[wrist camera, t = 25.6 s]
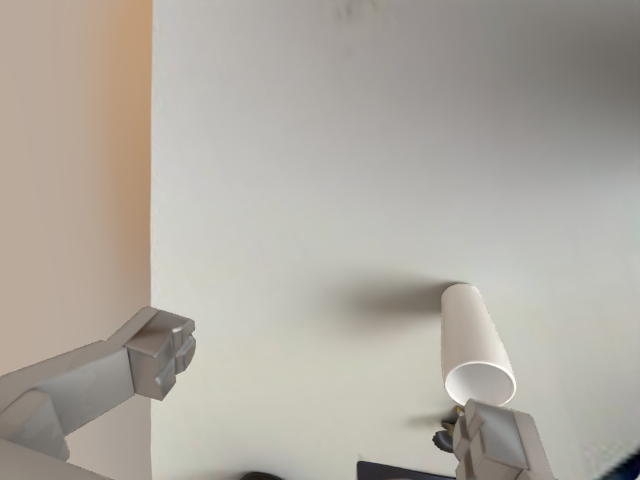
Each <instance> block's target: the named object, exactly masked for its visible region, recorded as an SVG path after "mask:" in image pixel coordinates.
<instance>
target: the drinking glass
mask: <svg viewBox="0 0 640 480" xmlns="http://www.w3.org/2000/svg"><path fill="white" fill-rule="evenodd" d="M441 308H442V315H441V351H440V352H441V368H442V376H443V382H444V388H445V390H446V392H447V394H448V395H449V396H450V397H451V398H452V399H453V400H454V401H455V402H457V403H459V404H461V405H463V406H465V404H466V402H467V400H469V399H470V398H472V399H476V400H480V401H483V402H487V403H491V404H494V405H498V406H502V405H504V404H505V403H507V402H508V401H509V400H511V398H512V397H513V396H514V394H515V391H516V382H515V378H514V374H513V370H512V366H511V363H510V360H509V357H508V354H507V351H506V349H505V347H504V344H503V342H502V340H501V338H500V335H499V333H498V331H497V329H496V327H495V325H494V322H493V320H492V318H491V316H490V314H489V311H488V309H487V307H486V305H485V302H484V299H483V296H482V294H481V292H480V291H479V290H478V289H477V288H475V287H474V286H472V285H469V284H462V283H461V284H455V285H452V286H450V287H448V288H447V289H446V290H445V291H444V292H443V294H442V297H441Z"/></svg>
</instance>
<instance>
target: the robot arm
mask: <svg viewBox="0 0 640 480" xmlns="http://www.w3.org/2000/svg"><path fill="white" fill-rule="evenodd" d="M194 330H195V323H194V320H192V319H189V318H186V317H183V316H179V315H176V314H173V313H170V312H167V311H163V310H159V309H156V308H153V307H150V306H147V307H144V308H142V309H141V310H140V311H139V312H137V313H136V314H135V315H134V316H133V317H132V318H131V319H130V320H129V321H127V322H126V323H125V324H124V325H123V326H122V327H121V328H120V329H118V330H117V331H116V332H115V333H114V334H113V335H112V336H111V337H110V338H108V339H107V340H106V341H102V340H100V341H97V342H94V343H91V344H88V345H86V346H83V347H80V348H77V349H75V350H72V351H69V352H66V353H64V354H61V355H58V356H55V357H53V358H50V359H47V360H44V361H41V362H39V363H36V364H33V365H30V366H28V367H25V368H22V369H19V370H17V371H14V372H11V373H8V374H6V375H3V376H1V377H0V480H114V479H111V478H108V477H105V476H102V475H100V474H96V473H94V472H92V471H89V470H86V469H84V468H81V467H78V466H75V465H73V464H70V463H67V462H66V461H67V460H68V458H69V457H70V451H69V448H68V445H67V442H66V440H65V436H67V435H68V434H70V433H72V432H73V431H75V430H77V429H78V428H80V427H82V426H83V425H85V424H87V423H88V422H90V421H92V420H94V419H95V418H97V417H99V416H100V415H102V414H104V413H105V412H107V411H109V410H110V409H112V408H114V407H116V406H117V405H119V404H121V403H122V402H124V401H126V400H127V399H129V398H131V397H132V396H134V395H135V393H136V394H139V395H143V396H146V397H150V398H153V399H156V400H160V401H162V400H163V399H164V398H165V396H166V395H167V394H168V392H169V391H170V390H171V388H172V387H173V386H174V384H175V383H176V375H177V374H179V373H181V372H183V371H185V370H186V368H187V367H188V365H189V364H190V362H191V360H192V358H193V355H194V353H195V348H196V340H195V339H194V337H193V336H192V332H193V331H194ZM464 410H465V415H462V416H460V417H458V420H457V422H456V424H455V428H454V433H453V452H454V455H455V456H456V458H457V459H458V461H459V462H460V463H459V465H458V466H457V468H456V470H455V471H456V480H558V479H555V478H554V477H553V474H552V471H551V468H550V465H549V462H548V459H547V457H546V454H545V451H544V448H543V445H542V442H541V439H540V436H539V434H538V431H537V428H536V425H535V422H534V419H533V418H532V416H531V415H530V414H527V413H523V412H519V411H516V410H512V409H508V408H505V407H502V406H498V405H494V404H491V403H487V402H483V401H480V400H476V399H472V398H470V399H469V400H467V402H466V404H465V406H464Z"/></svg>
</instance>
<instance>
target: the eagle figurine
mask: <svg viewBox="0 0 640 480" xmlns="http://www.w3.org/2000/svg"><path fill="white" fill-rule="evenodd" d="M456 408H457V413H458V415H459V416H462V415H465V413H464V412H463V411H461V410H460V409H459V407H458V406H457V407H456ZM442 427H444V429H447V431H445V430H443V431H438V432H436V433H435V434H436V435H435V436H433V439H432V441H433V442H435V443H434V444H435V445H436V446H437V447H438V448H440V450H444V451H445V452H448V453H454V452H453V433H454V428H455V425H453V424H449V423H446V422H442Z"/></svg>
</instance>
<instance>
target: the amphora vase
mask: <svg viewBox="0 0 640 480" xmlns="http://www.w3.org/2000/svg"><path fill="white" fill-rule="evenodd" d="M240 480H282V479H280V478H278V477H275V476H272V475H268V474H262V473H252V474H248V475H245V476H244V477H242V478H241V479H240Z"/></svg>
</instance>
